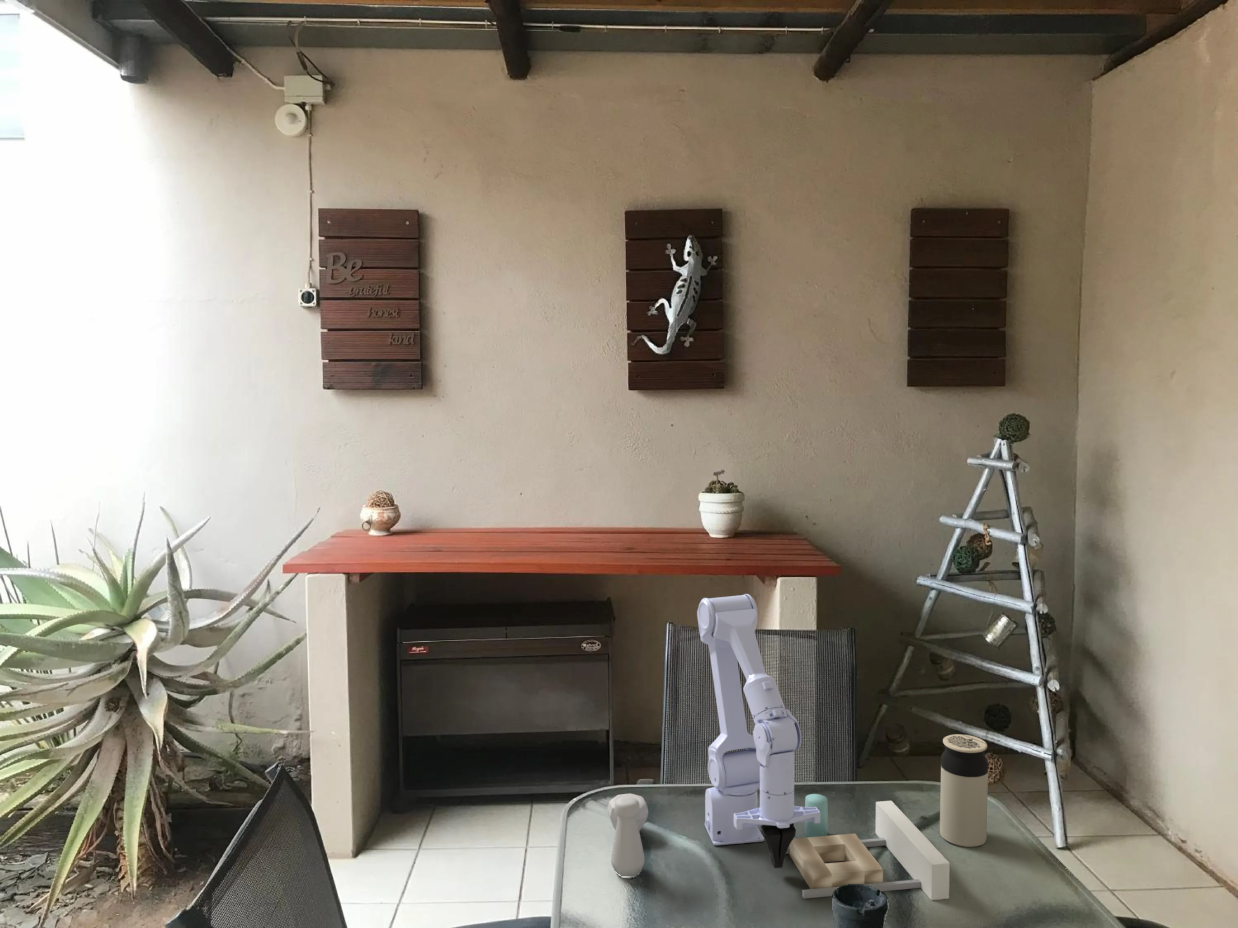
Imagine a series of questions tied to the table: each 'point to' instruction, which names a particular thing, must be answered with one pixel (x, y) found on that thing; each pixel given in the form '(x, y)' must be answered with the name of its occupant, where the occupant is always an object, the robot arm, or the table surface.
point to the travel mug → (964, 790)
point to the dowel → (822, 806)
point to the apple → (640, 817)
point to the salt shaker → (627, 839)
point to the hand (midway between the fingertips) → (776, 864)
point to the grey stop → (903, 855)
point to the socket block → (835, 848)
